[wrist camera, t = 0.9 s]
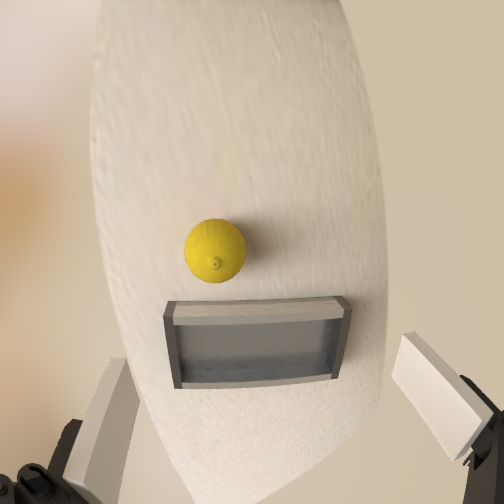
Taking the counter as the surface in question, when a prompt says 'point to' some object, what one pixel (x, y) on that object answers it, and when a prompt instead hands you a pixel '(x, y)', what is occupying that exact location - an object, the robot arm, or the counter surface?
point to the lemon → (215, 250)
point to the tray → (255, 341)
